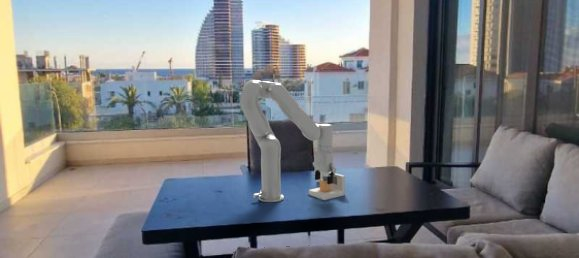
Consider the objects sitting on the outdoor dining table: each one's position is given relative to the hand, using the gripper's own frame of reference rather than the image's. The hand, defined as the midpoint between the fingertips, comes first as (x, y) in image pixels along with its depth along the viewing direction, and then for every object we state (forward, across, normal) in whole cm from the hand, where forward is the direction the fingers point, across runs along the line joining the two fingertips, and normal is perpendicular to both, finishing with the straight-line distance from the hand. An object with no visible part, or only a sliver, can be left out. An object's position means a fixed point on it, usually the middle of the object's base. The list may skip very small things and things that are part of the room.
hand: (323, 181), depth 224 cm
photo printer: (+7, -20, +18) cm, 27 cm away
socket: (+7, 0, +1) cm, 7 cm away
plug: (+7, 0, +1) cm, 7 cm away
